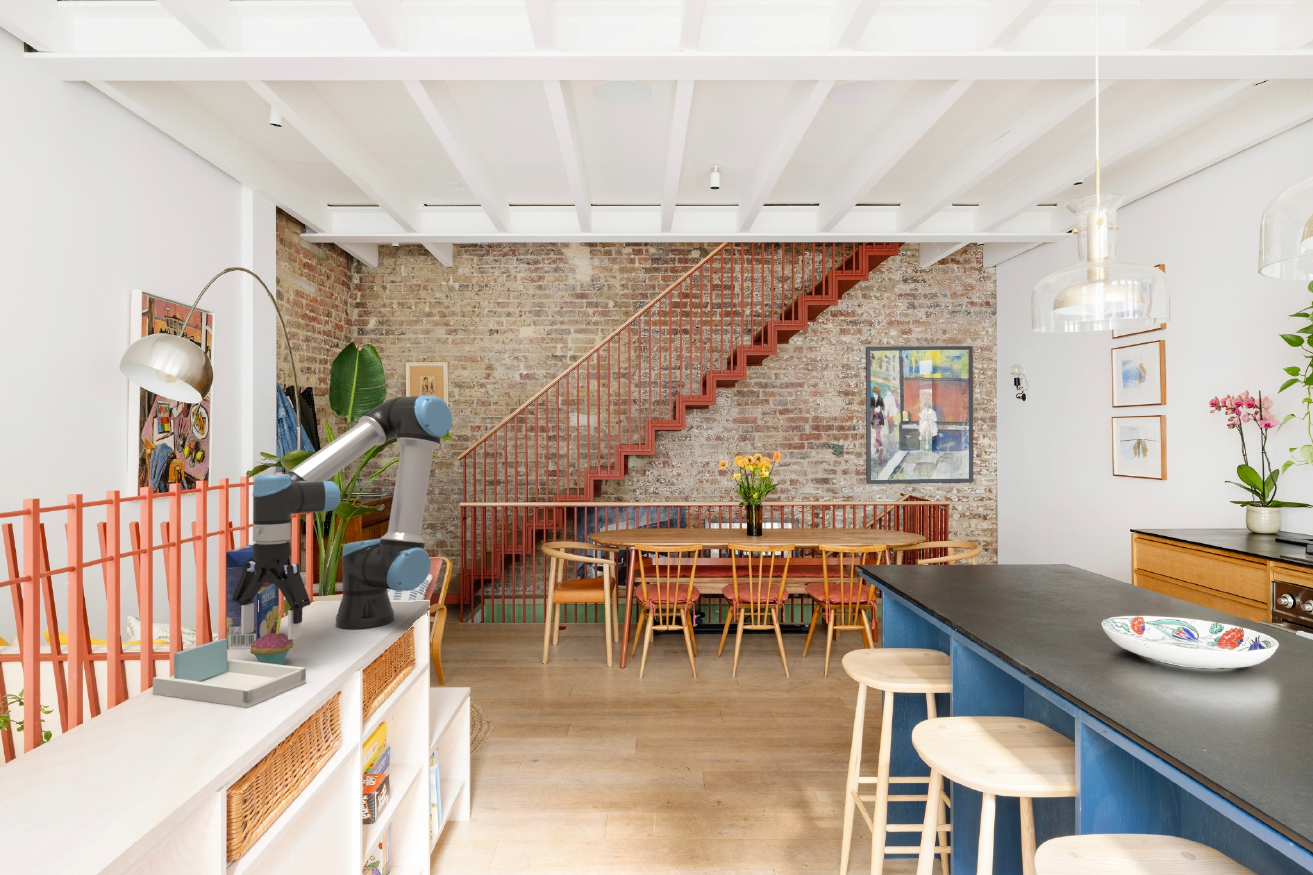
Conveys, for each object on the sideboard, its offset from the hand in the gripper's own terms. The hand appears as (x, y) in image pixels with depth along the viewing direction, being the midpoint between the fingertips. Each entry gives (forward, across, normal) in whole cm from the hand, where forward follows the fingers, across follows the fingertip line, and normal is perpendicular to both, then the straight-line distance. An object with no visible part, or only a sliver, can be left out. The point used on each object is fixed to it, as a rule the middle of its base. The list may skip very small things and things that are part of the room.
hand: (270, 635), depth 156 cm
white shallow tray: (+7, +4, -13) cm, 16 cm away
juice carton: (+7, -20, +14) cm, 25 cm away
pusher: (+6, -6, -13) cm, 16 cm away
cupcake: (+7, 0, +1) cm, 7 cm away
